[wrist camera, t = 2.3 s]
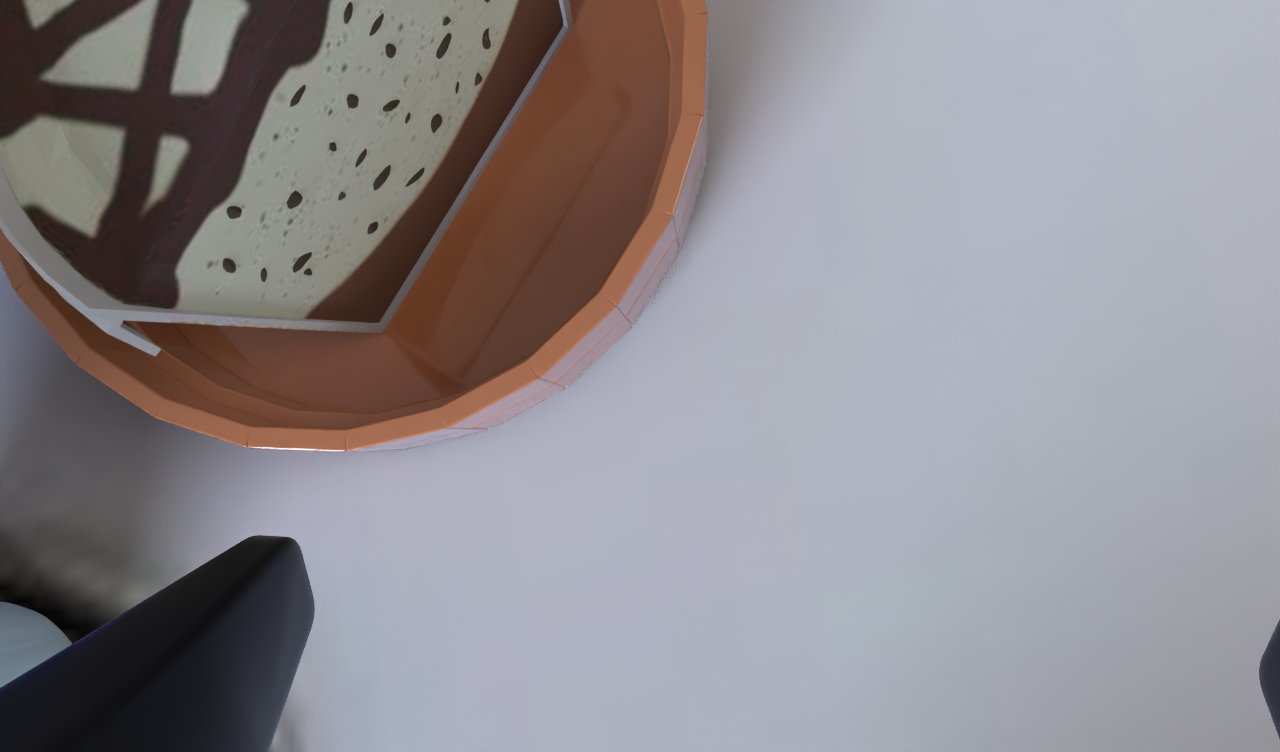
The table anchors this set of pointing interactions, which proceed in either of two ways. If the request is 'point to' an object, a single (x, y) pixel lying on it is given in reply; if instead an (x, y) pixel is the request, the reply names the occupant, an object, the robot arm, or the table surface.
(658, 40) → the basin
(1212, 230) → the table surface
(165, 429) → the table surface
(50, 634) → the cup
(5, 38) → the food container
